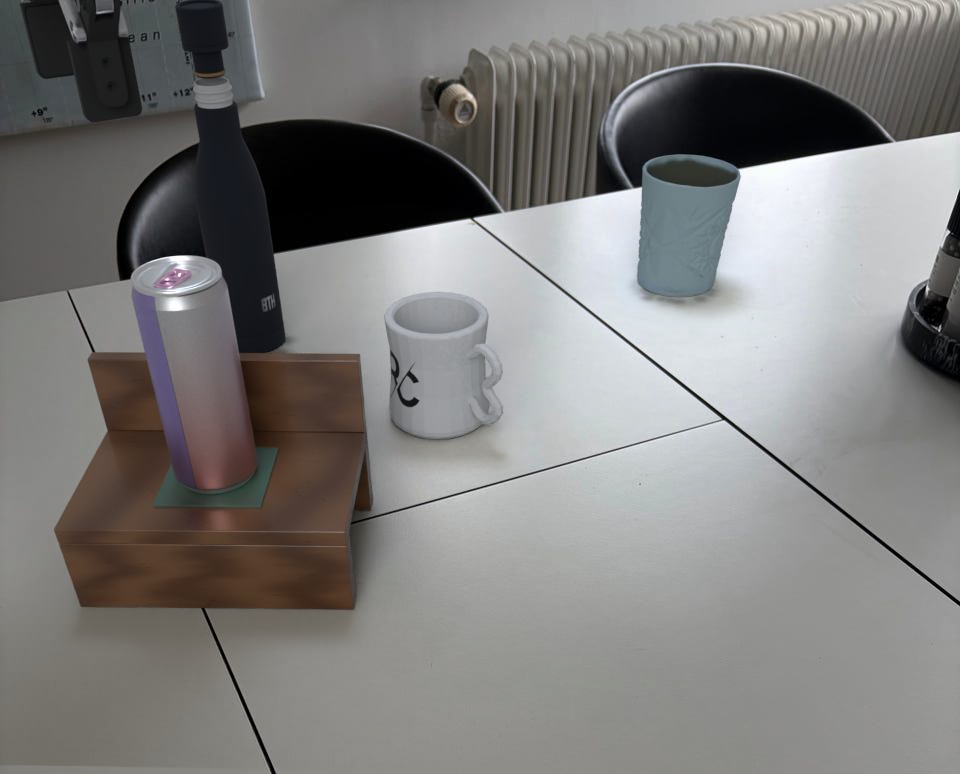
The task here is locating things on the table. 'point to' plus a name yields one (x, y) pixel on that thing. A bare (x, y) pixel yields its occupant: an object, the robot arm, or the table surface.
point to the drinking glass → (684, 222)
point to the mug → (441, 365)
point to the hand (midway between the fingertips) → (88, 95)
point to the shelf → (224, 495)
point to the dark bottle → (230, 186)
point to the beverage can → (195, 371)
